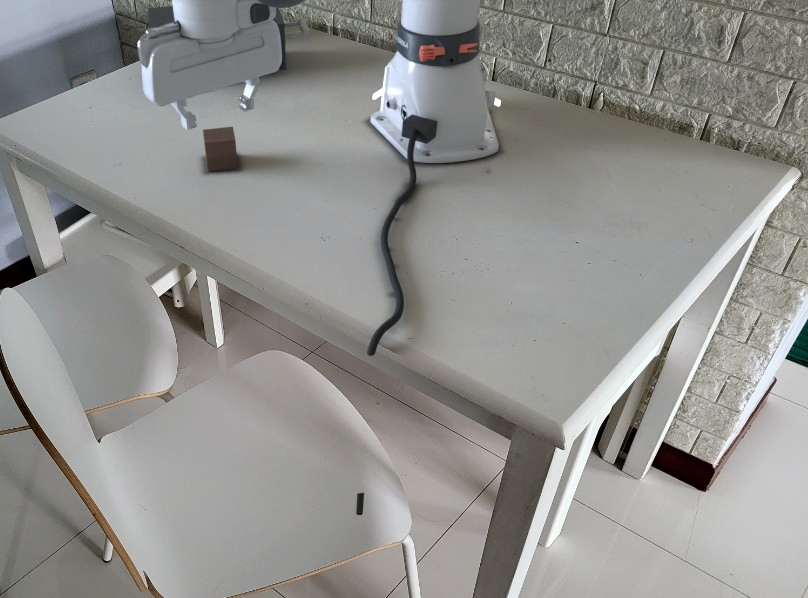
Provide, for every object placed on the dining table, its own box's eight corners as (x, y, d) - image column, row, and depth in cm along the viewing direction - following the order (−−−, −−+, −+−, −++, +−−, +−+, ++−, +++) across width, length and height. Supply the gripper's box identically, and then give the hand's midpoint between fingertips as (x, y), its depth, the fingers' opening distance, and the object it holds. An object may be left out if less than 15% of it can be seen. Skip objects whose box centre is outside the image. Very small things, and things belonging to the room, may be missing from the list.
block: (238, 168, 109) (235, 140, 105) (207, 172, 108) (204, 143, 105) (235, 154, 112) (232, 126, 109) (206, 157, 112) (202, 129, 108)
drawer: (303, 44, 139) (302, -1, 134) (313, 67, 131) (312, 20, 126) (207, 53, 139) (202, 9, 133) (211, 77, 131) (206, 31, 125)
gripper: (146, 39, 89) (163, 147, 99) (286, 2, 96) (289, 106, 106) (124, 25, 93) (143, 131, 103) (260, -10, 100) (266, 92, 110)
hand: (218, 118), depth 104 cm, fingers open, 8 cm apart
